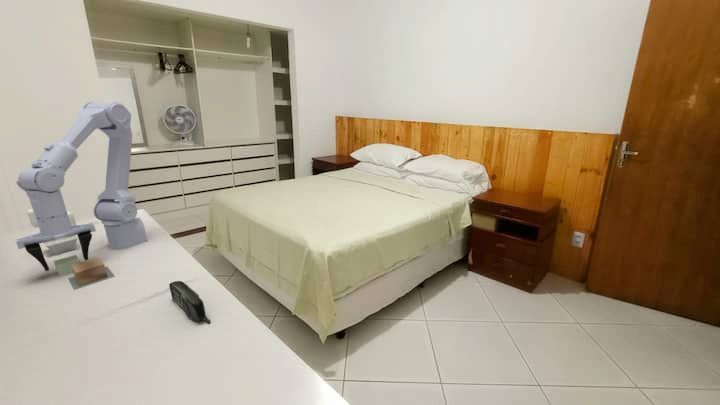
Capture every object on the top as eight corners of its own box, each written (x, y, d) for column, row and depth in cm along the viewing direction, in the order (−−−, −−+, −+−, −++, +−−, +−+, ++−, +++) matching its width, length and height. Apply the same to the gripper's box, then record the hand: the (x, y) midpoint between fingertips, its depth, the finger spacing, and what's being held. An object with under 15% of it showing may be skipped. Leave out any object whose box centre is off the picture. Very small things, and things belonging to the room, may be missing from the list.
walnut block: (102, 269, 83) (99, 257, 82) (107, 276, 80) (104, 264, 79) (75, 277, 79) (71, 265, 78) (79, 285, 76) (75, 272, 75)
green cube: (80, 269, 87) (76, 254, 85) (84, 275, 84) (79, 259, 82) (58, 276, 83) (53, 260, 82) (61, 282, 81) (56, 266, 79)
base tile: (108, 271, 85) (107, 266, 85) (116, 281, 80) (115, 276, 80) (69, 283, 80) (68, 278, 79) (75, 295, 75) (73, 289, 74)
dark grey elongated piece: (165, 282, 71) (195, 307, 62) (179, 277, 73) (210, 300, 64) (170, 301, 73) (199, 328, 63) (184, 295, 75) (214, 321, 65)
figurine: (85, 247, 99) (71, 202, 95) (44, 259, 92) (28, 210, 88) (79, 241, 104) (66, 198, 99) (39, 252, 97) (23, 206, 92)
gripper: (10, 227, 71) (29, 280, 75) (92, 211, 81) (105, 258, 85) (8, 220, 75) (27, 270, 79) (86, 205, 85) (99, 251, 90)
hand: (67, 264), depth 82 cm, fingers open, 7 cm apart
